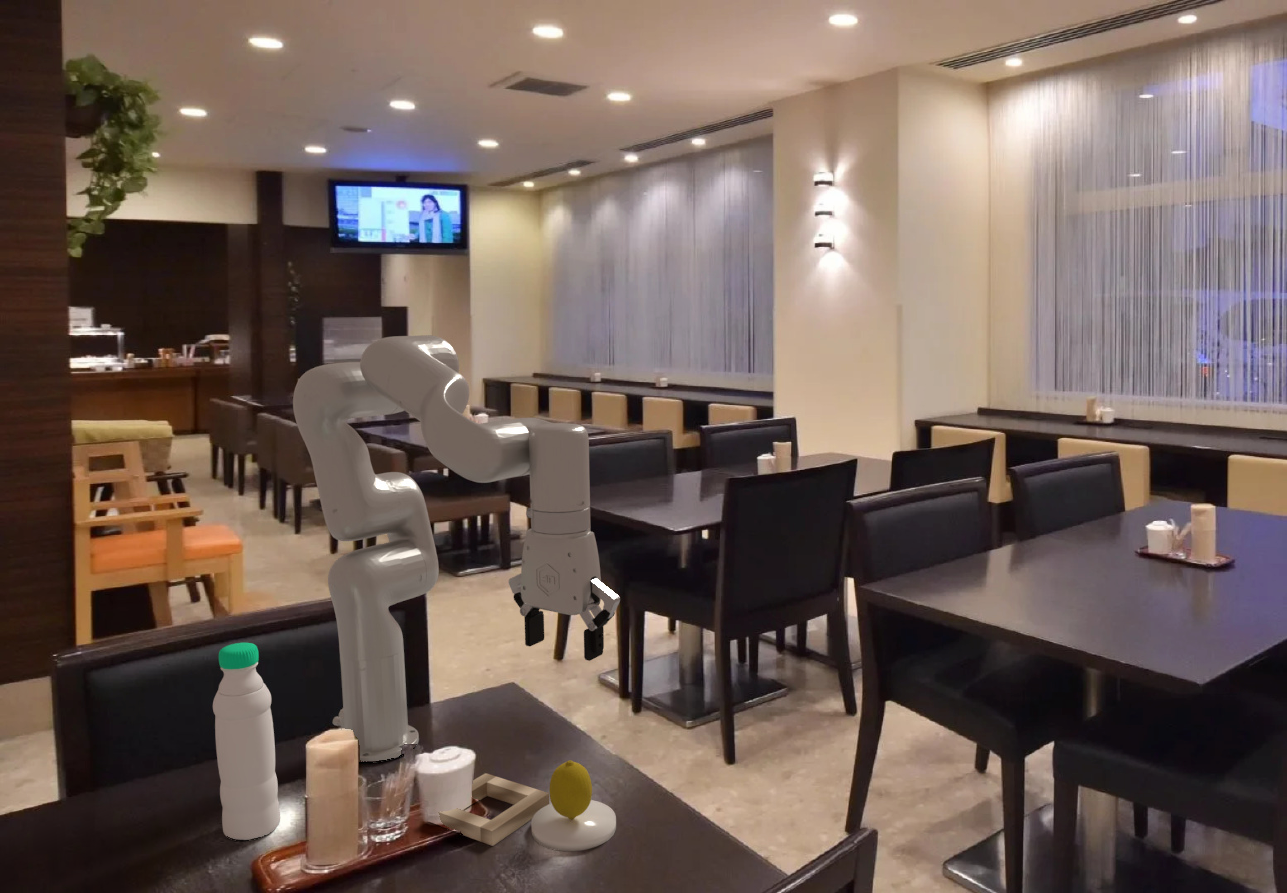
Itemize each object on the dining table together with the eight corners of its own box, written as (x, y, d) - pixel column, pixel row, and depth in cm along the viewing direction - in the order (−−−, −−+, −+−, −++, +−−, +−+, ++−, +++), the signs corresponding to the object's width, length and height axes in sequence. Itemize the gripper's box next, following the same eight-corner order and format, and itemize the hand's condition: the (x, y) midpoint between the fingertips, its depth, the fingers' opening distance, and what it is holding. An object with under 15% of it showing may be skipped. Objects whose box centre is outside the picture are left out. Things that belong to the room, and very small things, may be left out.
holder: (427, 822, 130) (426, 807, 129) (486, 786, 139) (485, 773, 139) (492, 846, 123) (492, 831, 123) (549, 807, 133) (548, 793, 133)
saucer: (514, 836, 126) (513, 827, 125) (566, 799, 135) (565, 791, 135) (582, 860, 120) (582, 851, 120) (632, 820, 129) (632, 812, 129)
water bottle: (292, 822, 130) (279, 642, 127) (248, 848, 124) (233, 659, 121) (255, 811, 133) (241, 634, 130) (211, 835, 127) (195, 651, 124)
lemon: (586, 831, 124) (585, 772, 123) (545, 828, 125) (542, 769, 124) (597, 810, 129) (595, 753, 128) (557, 807, 130) (555, 750, 129)
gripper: (489, 518, 126) (494, 646, 128) (598, 534, 116) (600, 672, 119) (527, 508, 132) (531, 630, 134) (633, 523, 122) (635, 654, 125)
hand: (563, 650), depth 126 cm, fingers open, 9 cm apart
